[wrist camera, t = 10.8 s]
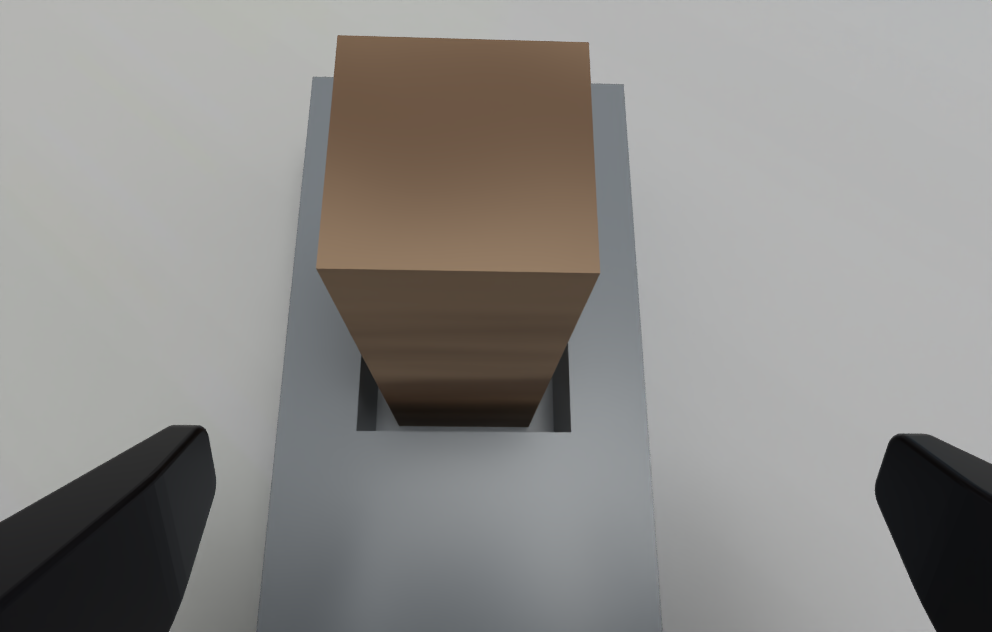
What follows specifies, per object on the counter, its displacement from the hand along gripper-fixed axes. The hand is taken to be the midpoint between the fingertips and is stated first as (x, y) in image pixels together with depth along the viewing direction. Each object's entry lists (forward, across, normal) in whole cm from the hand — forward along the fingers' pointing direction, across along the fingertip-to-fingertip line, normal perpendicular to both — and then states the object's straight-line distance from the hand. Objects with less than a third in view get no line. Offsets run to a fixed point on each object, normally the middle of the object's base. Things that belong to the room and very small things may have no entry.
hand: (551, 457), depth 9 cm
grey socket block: (+12, +1, +6) cm, 14 cm away
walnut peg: (+12, +1, +5) cm, 13 cm away
